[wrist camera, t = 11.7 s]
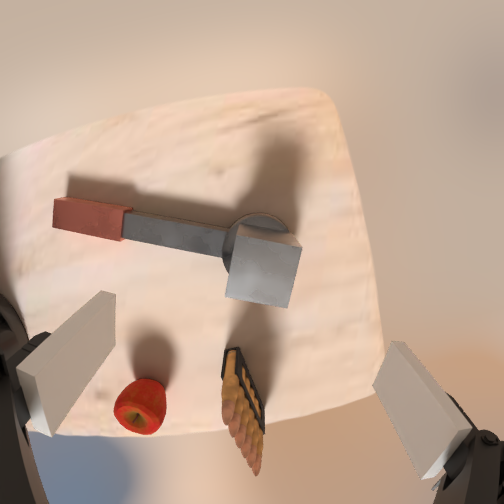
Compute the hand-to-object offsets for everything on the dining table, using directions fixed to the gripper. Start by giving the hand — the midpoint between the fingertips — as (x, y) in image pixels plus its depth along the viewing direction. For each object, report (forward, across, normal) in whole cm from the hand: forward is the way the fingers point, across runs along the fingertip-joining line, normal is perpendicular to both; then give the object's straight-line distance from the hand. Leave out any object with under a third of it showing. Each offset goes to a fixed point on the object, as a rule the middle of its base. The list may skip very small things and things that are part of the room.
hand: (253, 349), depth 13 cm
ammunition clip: (+20, +2, -17) cm, 26 cm away
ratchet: (+20, -9, 0) cm, 22 cm away
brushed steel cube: (+17, +1, 0) cm, 17 cm away
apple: (+20, -10, -21) cm, 31 cm away
